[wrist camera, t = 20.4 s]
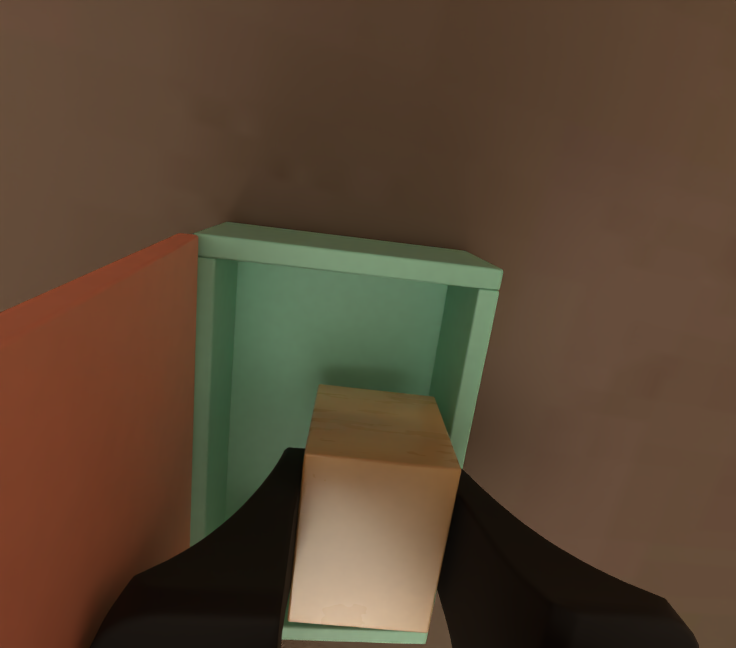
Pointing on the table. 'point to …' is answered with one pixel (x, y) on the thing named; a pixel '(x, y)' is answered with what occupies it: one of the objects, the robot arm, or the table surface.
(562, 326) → the table surface
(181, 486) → the lid
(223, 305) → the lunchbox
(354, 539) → the block
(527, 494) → the table surface
